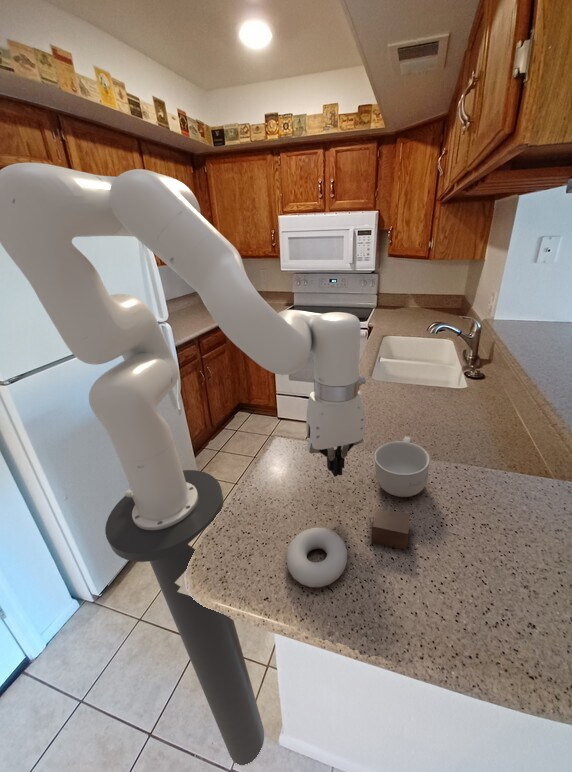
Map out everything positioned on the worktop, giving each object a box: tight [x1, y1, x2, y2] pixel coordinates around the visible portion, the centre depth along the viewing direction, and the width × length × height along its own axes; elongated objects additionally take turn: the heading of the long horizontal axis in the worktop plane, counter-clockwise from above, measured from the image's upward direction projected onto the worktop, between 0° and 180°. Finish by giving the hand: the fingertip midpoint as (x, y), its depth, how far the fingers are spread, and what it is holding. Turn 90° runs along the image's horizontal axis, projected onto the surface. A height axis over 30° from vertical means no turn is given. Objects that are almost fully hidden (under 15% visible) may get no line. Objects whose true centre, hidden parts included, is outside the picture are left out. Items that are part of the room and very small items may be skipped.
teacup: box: [373, 436, 431, 498], centre depth 68 cm, size 14×11×8 cm
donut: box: [285, 527, 348, 588], centre depth 53 cm, size 10×4×10 cm
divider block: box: [371, 508, 411, 551], centre depth 57 cm, size 6×4×4 cm, turn 73°
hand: (335, 471), depth 64 cm, fingers closed
